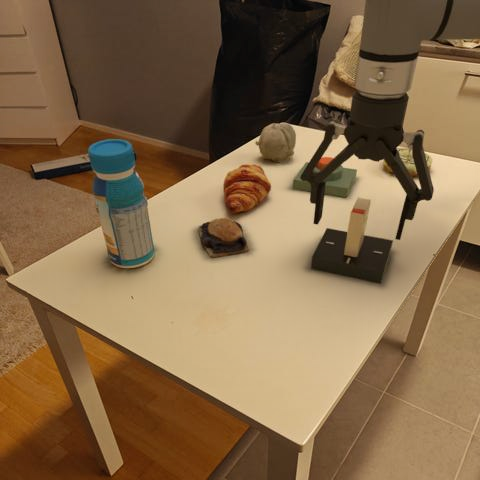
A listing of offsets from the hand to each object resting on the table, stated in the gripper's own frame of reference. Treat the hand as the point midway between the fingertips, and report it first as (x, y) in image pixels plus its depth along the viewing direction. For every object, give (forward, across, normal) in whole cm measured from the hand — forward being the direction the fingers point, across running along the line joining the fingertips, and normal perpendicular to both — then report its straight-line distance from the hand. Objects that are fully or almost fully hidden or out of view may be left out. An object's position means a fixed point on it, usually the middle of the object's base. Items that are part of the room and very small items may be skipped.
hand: (357, 228), depth 77 cm
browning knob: (+4, 0, 0) cm, 4 cm away
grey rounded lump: (+7, -27, +37) cm, 46 cm away
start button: (+3, -12, +28) cm, 31 cm away
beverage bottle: (+7, -37, -13) cm, 40 cm away
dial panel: (+6, 0, 0) cm, 6 cm away
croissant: (+7, -26, +16) cm, 31 cm away
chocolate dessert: (+7, -24, -2) cm, 25 cm away
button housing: (+6, -12, +28) cm, 31 cm away
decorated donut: (+7, +4, +42) cm, 43 cm away
